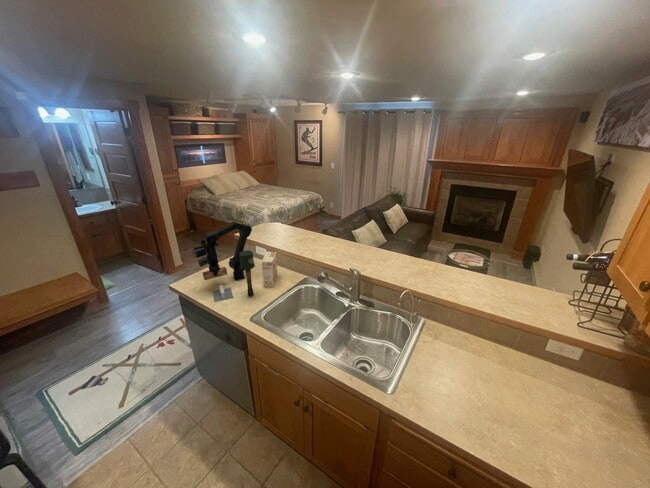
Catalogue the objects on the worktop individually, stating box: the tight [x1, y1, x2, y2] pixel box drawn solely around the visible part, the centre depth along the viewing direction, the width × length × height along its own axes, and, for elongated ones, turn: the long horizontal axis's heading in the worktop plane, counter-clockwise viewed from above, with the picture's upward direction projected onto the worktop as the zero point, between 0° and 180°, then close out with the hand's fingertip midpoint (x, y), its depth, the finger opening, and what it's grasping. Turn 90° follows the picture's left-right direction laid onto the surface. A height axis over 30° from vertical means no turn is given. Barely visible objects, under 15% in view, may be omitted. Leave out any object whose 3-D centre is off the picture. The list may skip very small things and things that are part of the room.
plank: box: [202, 266, 228, 281], centre depth 169 cm, size 14×4×4 cm, turn 124°
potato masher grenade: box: [239, 250, 256, 297], centre depth 159 cm, size 8×9×30 cm
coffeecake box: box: [261, 251, 279, 288], centre depth 177 cm, size 15×7×20 cm, turn 179°
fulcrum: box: [212, 284, 234, 303], centre depth 165 cm, size 11×12×4 cm
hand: (215, 274), depth 170 cm, fingers closed on plank, 4 cm apart
